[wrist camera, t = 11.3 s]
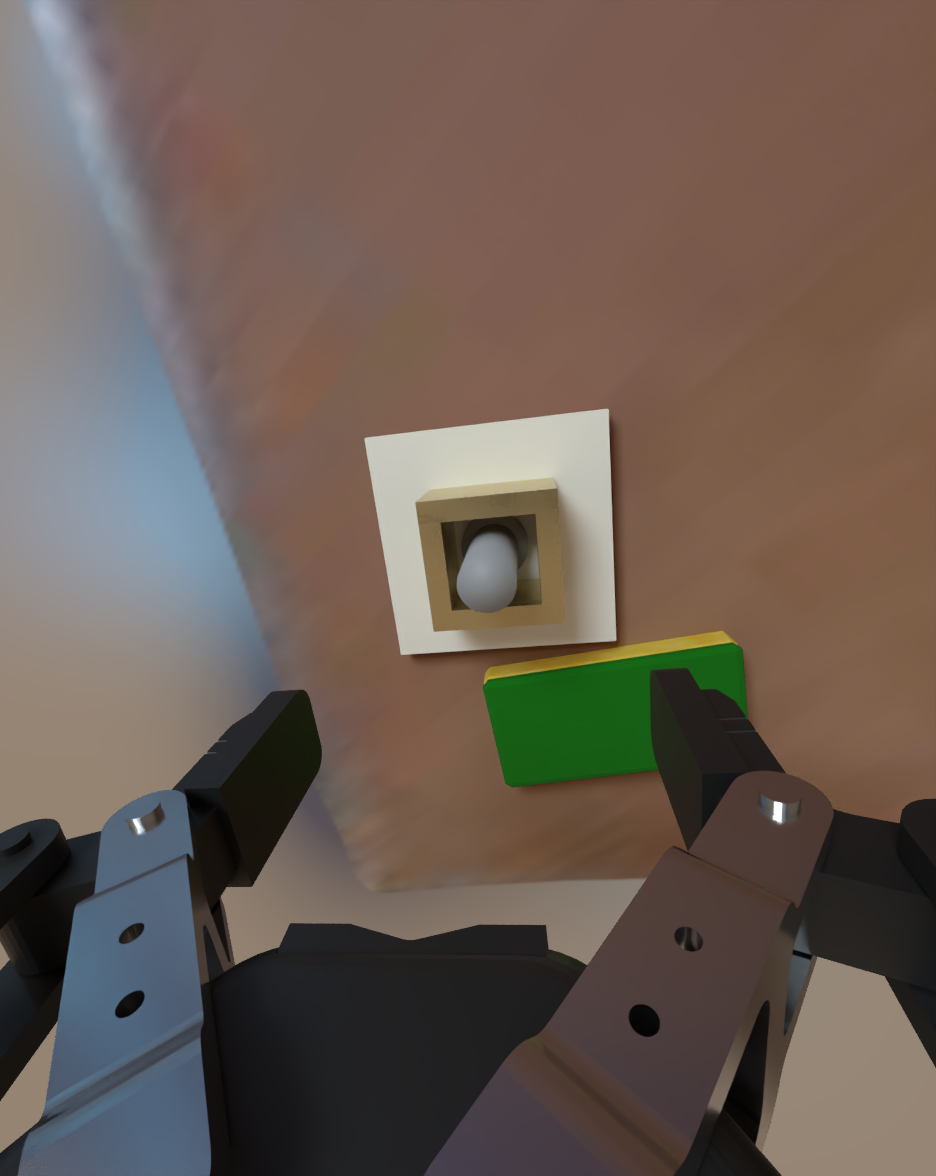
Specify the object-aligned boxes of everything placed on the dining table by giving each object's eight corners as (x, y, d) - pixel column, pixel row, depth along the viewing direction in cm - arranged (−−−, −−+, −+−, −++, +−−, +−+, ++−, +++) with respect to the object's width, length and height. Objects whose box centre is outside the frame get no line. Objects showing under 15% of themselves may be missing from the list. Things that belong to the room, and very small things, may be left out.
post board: (604, 408, 26) (639, 408, 19) (612, 632, 30) (644, 709, 22) (370, 437, 28) (312, 447, 20) (405, 646, 31) (367, 722, 24)
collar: (552, 477, 26) (557, 488, 23) (559, 594, 28) (565, 623, 24) (430, 489, 27) (415, 502, 23) (445, 603, 29) (433, 631, 25)
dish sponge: (484, 664, 32) (481, 684, 30) (726, 626, 30) (743, 644, 27) (507, 763, 34) (506, 789, 32) (735, 735, 32) (751, 760, 29)
